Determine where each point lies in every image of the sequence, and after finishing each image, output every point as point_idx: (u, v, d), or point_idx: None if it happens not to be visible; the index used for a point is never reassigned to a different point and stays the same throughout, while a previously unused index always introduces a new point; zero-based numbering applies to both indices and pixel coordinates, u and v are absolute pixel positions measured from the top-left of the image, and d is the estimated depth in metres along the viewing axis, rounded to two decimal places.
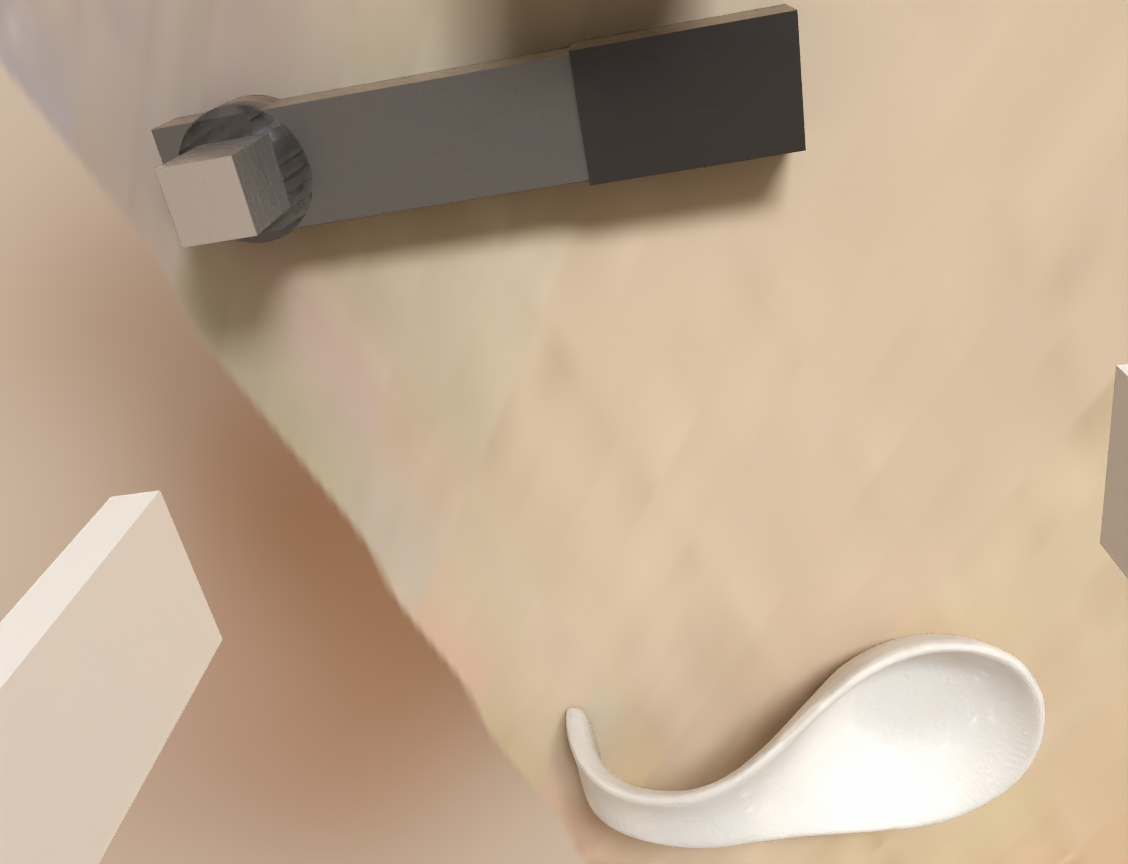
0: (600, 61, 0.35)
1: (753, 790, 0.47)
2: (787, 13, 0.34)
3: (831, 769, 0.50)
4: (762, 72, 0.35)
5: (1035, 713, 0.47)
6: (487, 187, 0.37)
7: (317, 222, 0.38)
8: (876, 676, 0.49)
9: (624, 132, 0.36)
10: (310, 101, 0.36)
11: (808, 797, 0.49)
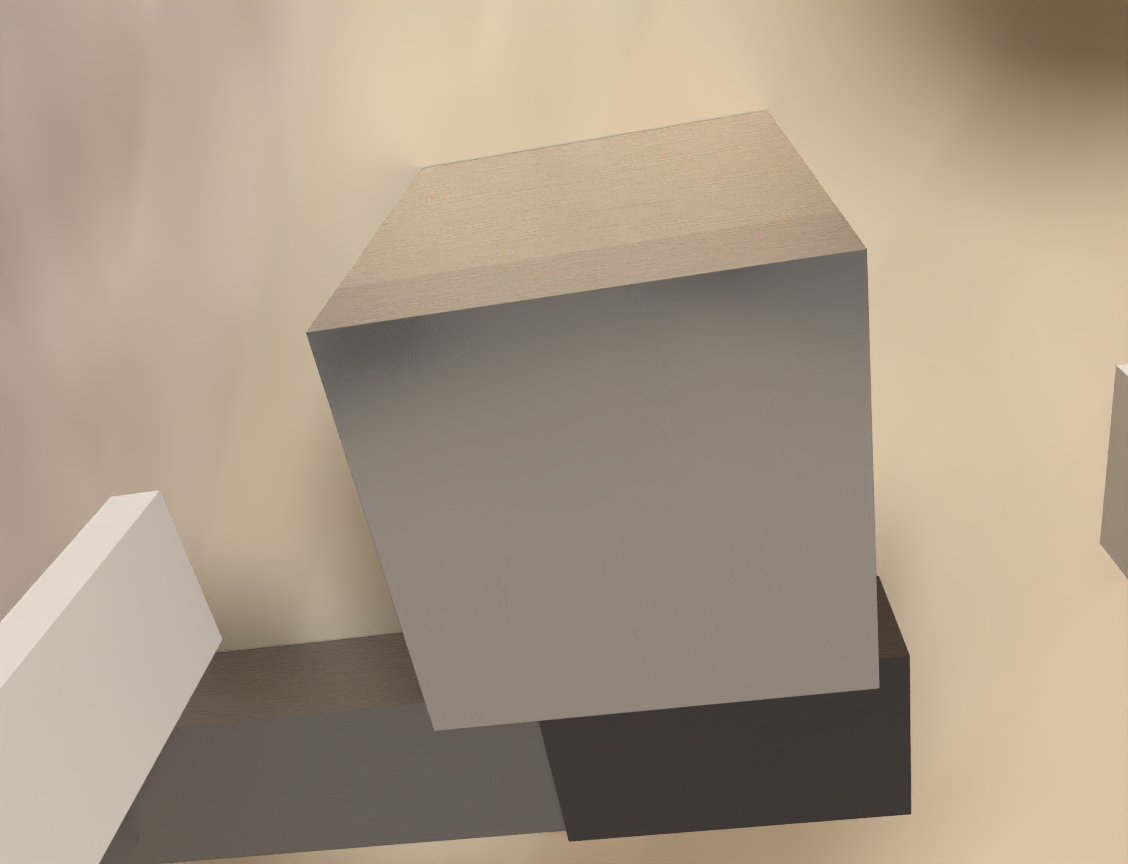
0: None
1: None
2: (893, 660, 0.20)
3: None
4: (846, 726, 0.21)
5: None
6: (410, 834, 0.24)
7: (151, 861, 0.25)
8: None
9: (623, 786, 0.23)
10: None
11: None
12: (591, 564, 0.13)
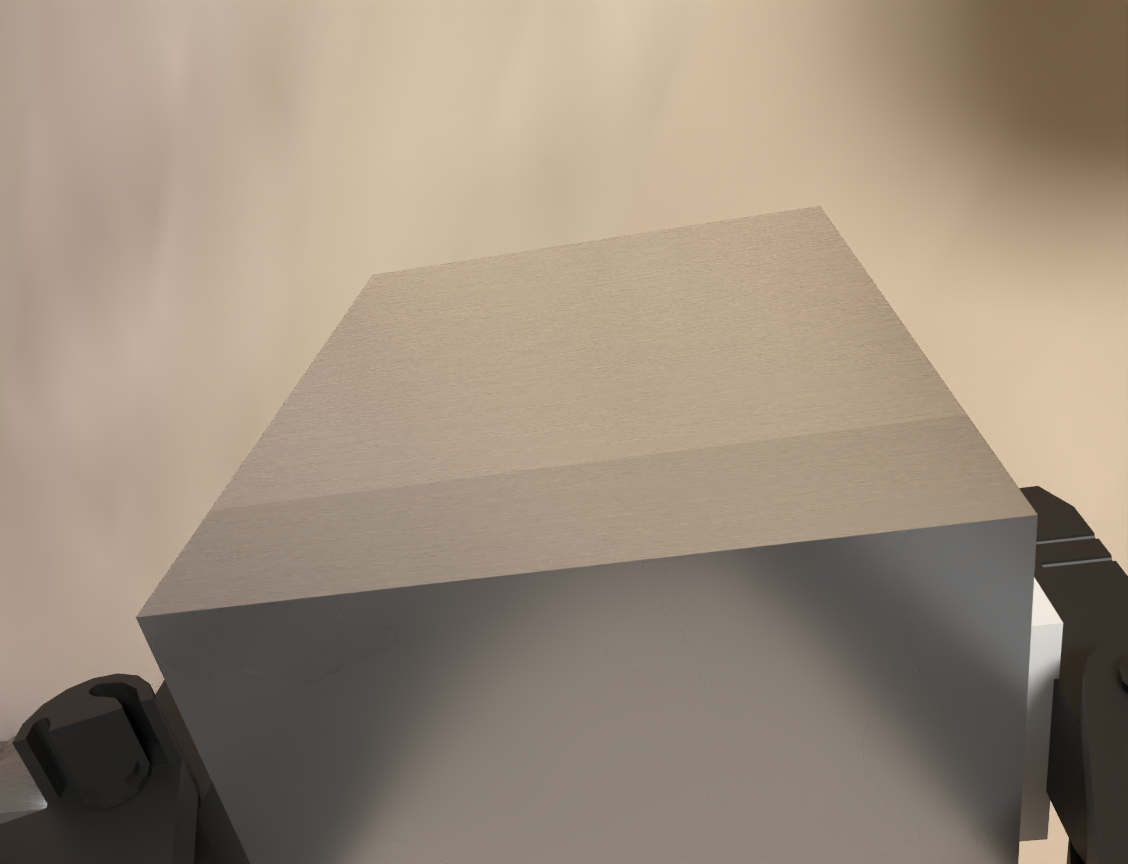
0: None
1: None
2: None
3: None
4: None
5: None
6: None
7: None
8: None
9: None
10: None
11: None
12: None
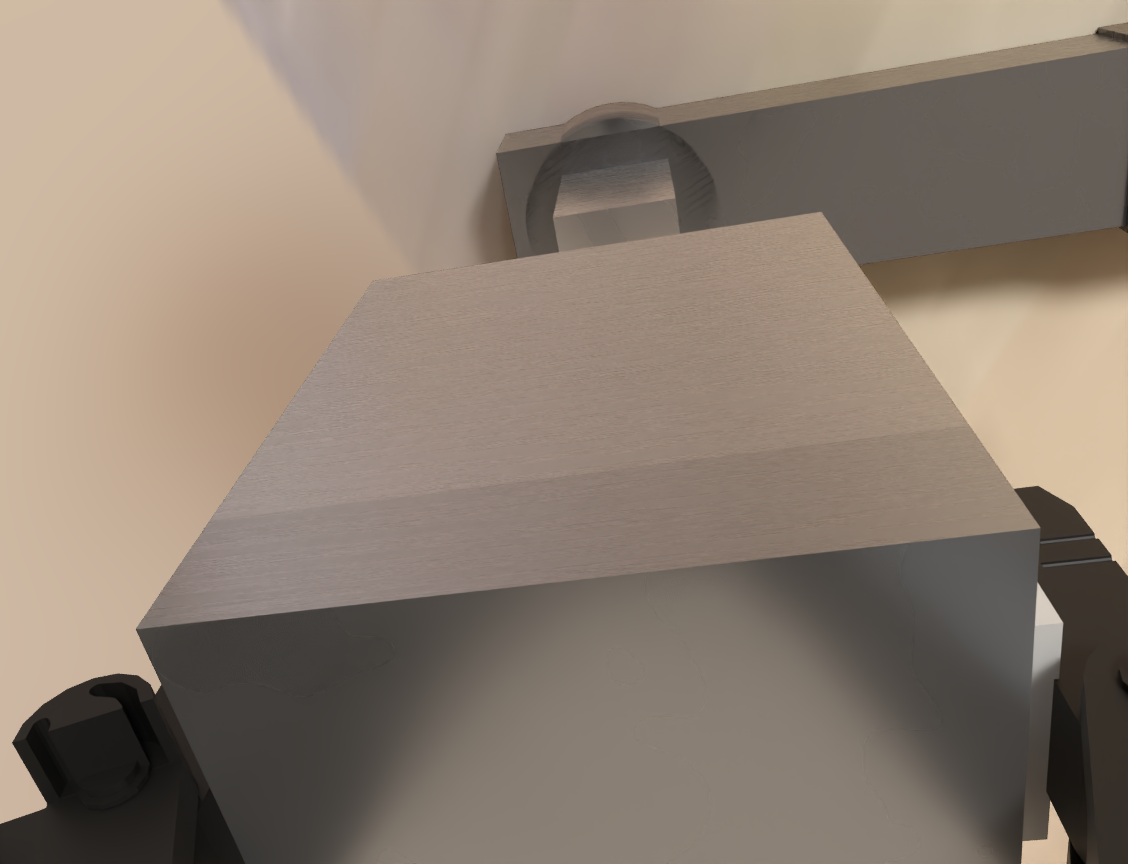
0: None
1: None
2: None
3: None
4: None
5: None
6: (973, 236, 0.26)
7: None
8: None
9: None
10: (736, 113, 0.25)
11: None
12: None
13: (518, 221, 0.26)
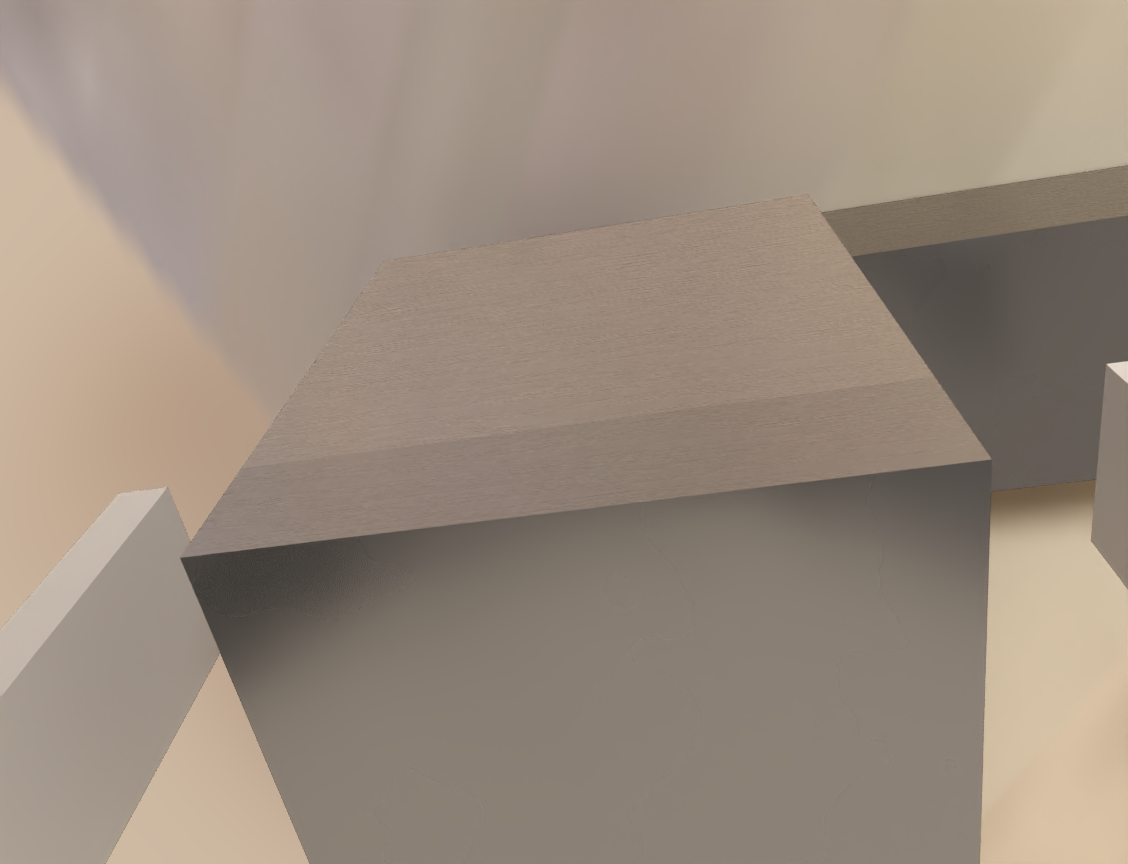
0: None
1: None
2: None
3: None
4: None
5: None
6: None
7: None
8: None
9: None
10: None
11: None
12: (586, 846, 0.09)
13: None
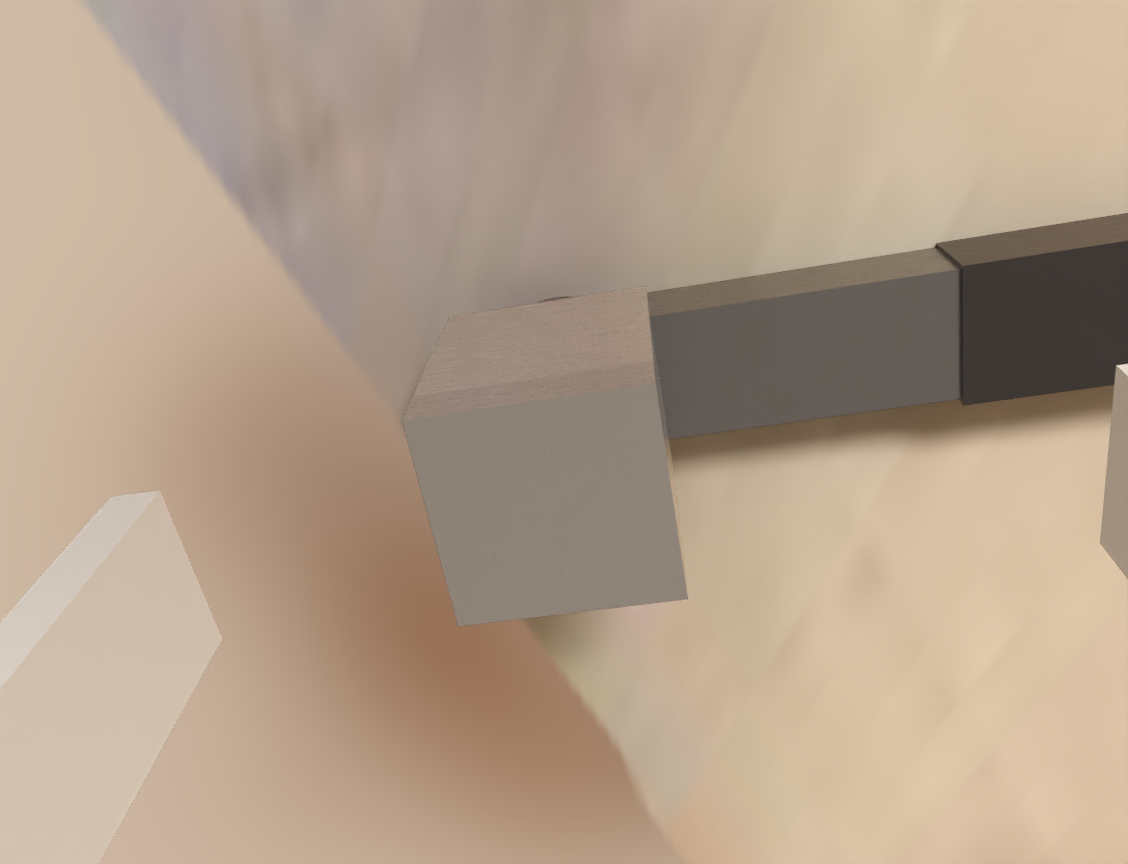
0: (997, 276, 0.30)
1: None
2: None
3: None
4: None
5: None
6: (842, 406, 0.33)
7: None
8: None
9: (1013, 350, 0.31)
10: (651, 316, 0.32)
11: None
12: (537, 533, 0.26)
13: None
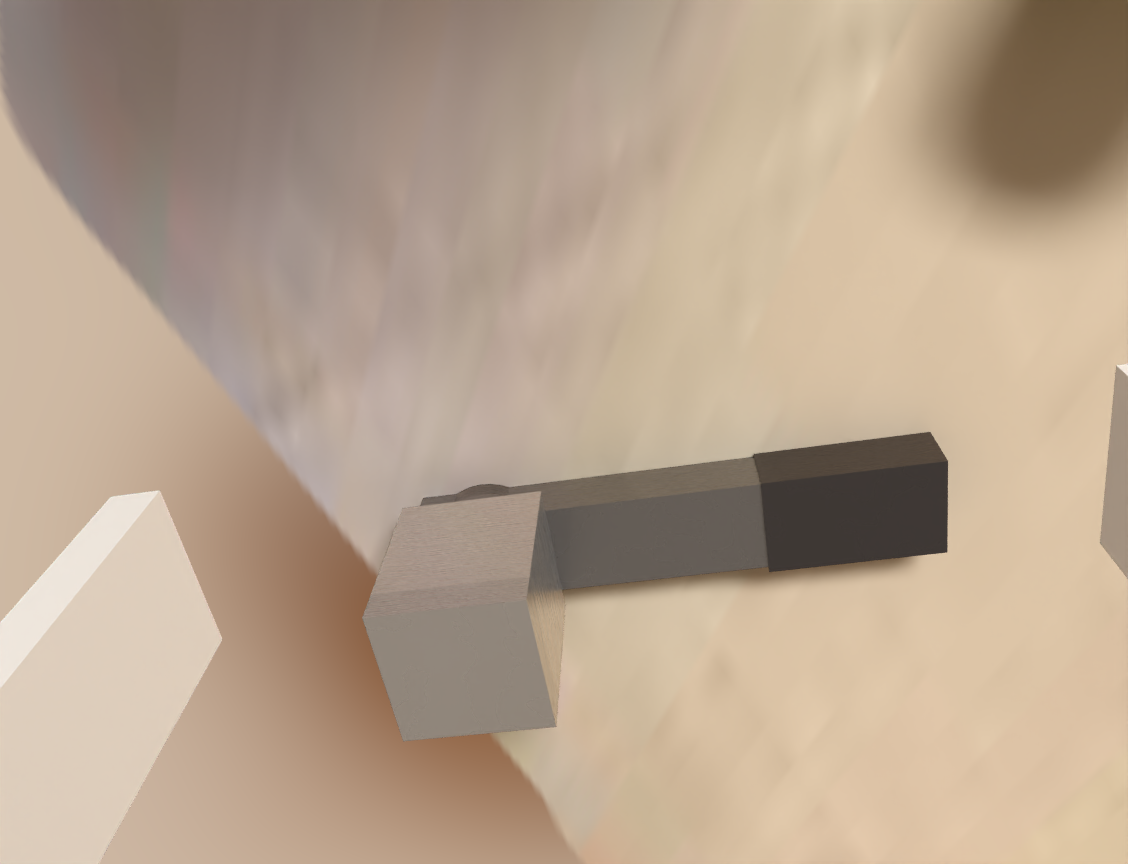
0: (785, 490, 0.43)
1: None
2: (939, 463, 0.42)
3: None
4: (916, 500, 0.43)
5: None
6: (684, 570, 0.46)
7: None
8: None
9: (801, 537, 0.44)
10: (546, 509, 0.45)
11: None
12: (454, 685, 0.39)
13: None
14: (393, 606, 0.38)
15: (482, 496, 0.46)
